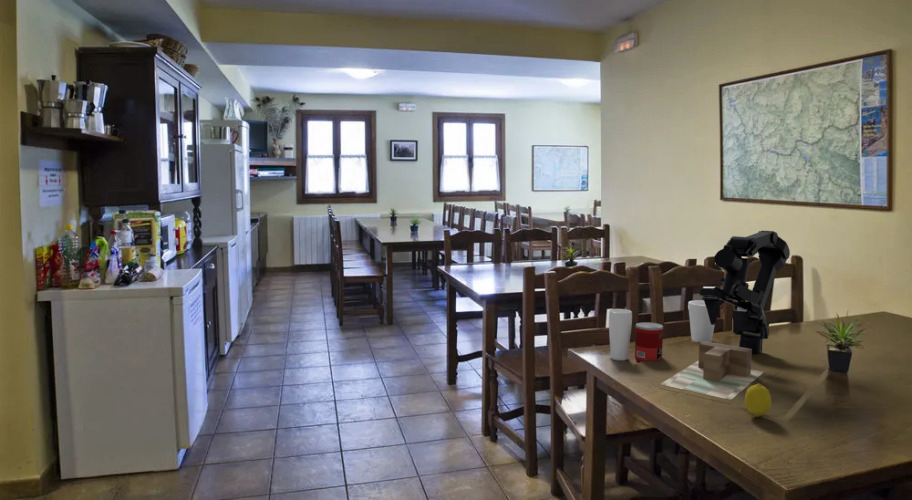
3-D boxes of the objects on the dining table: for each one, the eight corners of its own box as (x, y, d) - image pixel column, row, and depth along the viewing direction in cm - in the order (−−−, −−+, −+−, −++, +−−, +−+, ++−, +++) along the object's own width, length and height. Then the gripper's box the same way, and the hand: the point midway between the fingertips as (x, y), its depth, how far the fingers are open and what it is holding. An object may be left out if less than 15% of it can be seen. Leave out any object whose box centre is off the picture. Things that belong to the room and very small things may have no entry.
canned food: (663, 364, 187) (664, 328, 186) (635, 363, 189) (636, 327, 187) (660, 357, 195) (661, 322, 193) (633, 356, 196) (634, 321, 195)
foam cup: (685, 336, 220) (687, 299, 219) (714, 337, 218) (716, 301, 216) (688, 343, 211) (689, 305, 210) (717, 345, 209) (719, 306, 207)
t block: (703, 364, 183) (704, 341, 182) (750, 373, 175) (751, 349, 174) (686, 375, 174) (687, 350, 173) (735, 385, 165) (737, 359, 164)
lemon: (739, 412, 149) (741, 380, 148) (761, 412, 150) (763, 379, 149) (752, 421, 144) (754, 388, 143) (775, 421, 144) (777, 387, 143)
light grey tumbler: (631, 356, 195) (632, 309, 194) (629, 362, 189) (631, 314, 187) (608, 354, 198) (610, 308, 196) (606, 360, 191) (608, 312, 189)
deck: (699, 363, 188) (699, 359, 188) (763, 376, 176) (764, 371, 176) (659, 388, 166) (660, 384, 166) (730, 404, 155) (730, 399, 154)
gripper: (735, 267, 173) (723, 322, 171) (780, 287, 180) (769, 340, 178) (704, 267, 183) (692, 319, 181) (748, 286, 191) (737, 336, 188)
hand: (723, 329), depth 182 cm, fingers open, 9 cm apart
